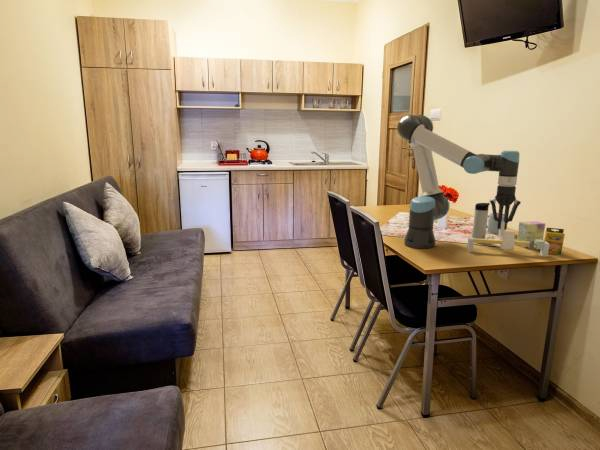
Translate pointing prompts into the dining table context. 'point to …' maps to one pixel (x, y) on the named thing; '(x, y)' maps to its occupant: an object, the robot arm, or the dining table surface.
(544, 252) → the rail
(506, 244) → the sleeve
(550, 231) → the crayon box
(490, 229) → the mug
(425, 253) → the dining table surface
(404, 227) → the dining table surface
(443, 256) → the dining table surface
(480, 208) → the travel mug
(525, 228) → the box
